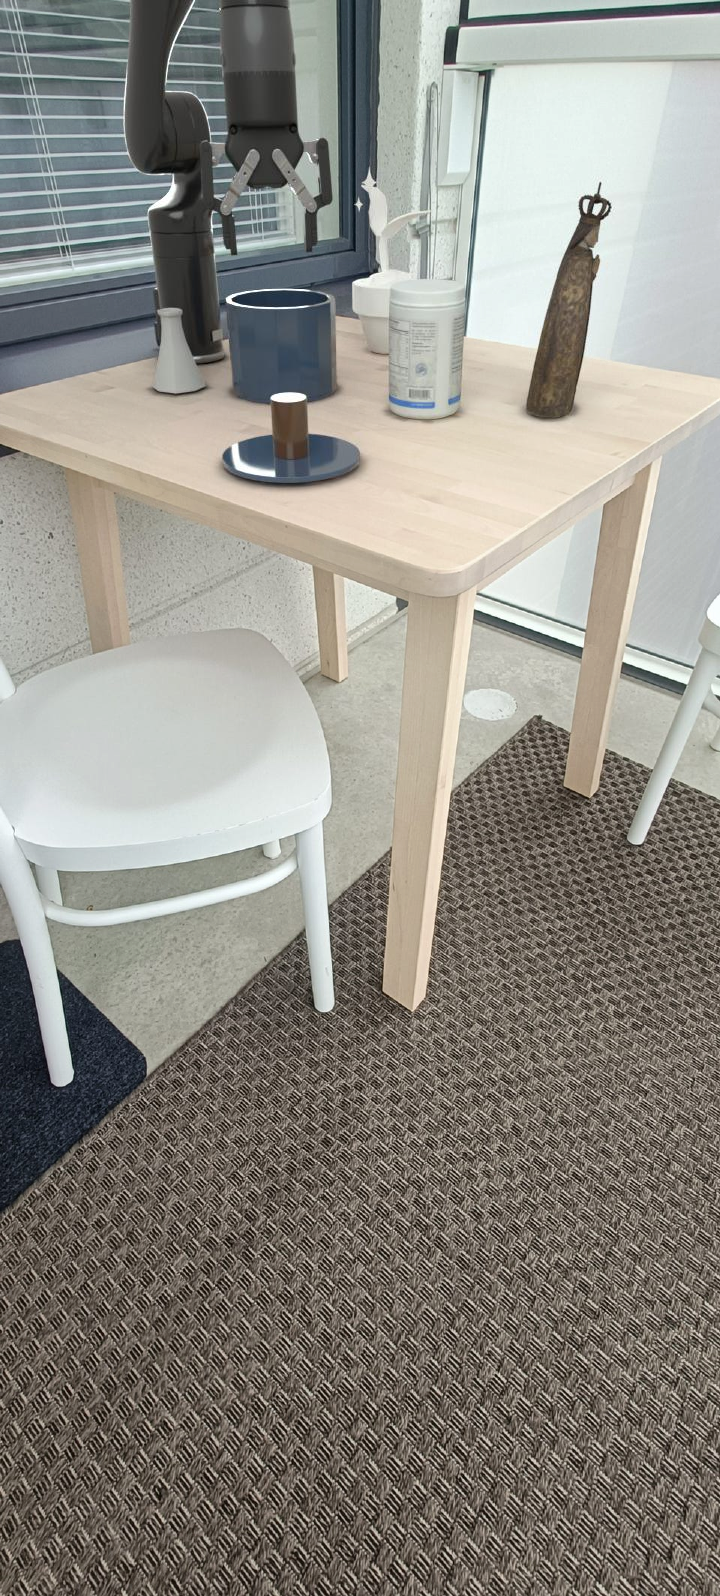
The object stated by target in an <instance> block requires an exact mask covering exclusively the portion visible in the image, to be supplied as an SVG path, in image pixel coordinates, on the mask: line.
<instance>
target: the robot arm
mask: <svg viewBox="0 0 720 1596" xmlns="http://www.w3.org/2000/svg"><path fill="white" fill-rule="evenodd" d="M195 1H196V0H130V2H129V32H128V33H129V34H128V35H129V36H128V49H127V61H126V62H127V63H126V73H125V75H126V76H125V85H124V86H125V88H124V100H123V132H124V141H125V146H126V147H125V148H126V151H127V155H128V157H129V159H130V162H131V164H132V165H133V167H134V168H135V169H136V170H137V171H138V172H139V173H141V174H143V175H148V176H150V175H151V176H163V175H172V184H171V187H170V189H169V191H168V192H167V194H166V195H165V196H163V198H161V199H160V200H159V201H157V202H155V203H154V204H152V205H151V206H150V207H149V208H148V210H147V223H148V229H149V237H150V244H151V253H152V259H153V267H154V275H155V283H156V287H155V288H154V289H153V290H152V297H153V303H154V304H153V305H154V311H155V320H156V321H154V322H153V327H154V336H155V341H156V345H157V347H159V348H160V345H161V330H162V326H161V318H160V315H158V312H157V310H160V309H163V308H179V309H181V310H182V315H181V323H182V328H183V332H184V335H185V339H186V342H187V344H188V347H189V349H190V351H191V354H192V356H193V358H194V361H195V363H196V364H206V363H213V362H216V361H220V360H222V359H223V358H224V357H225V348H224V344H223V343H224V342H223V338H224V336H223V334H224V333H223V327H222V320H221V309H220V307H221V306H220V297H219V287H218V286H219V285H218V274H217V264H216V253H215V242H214V241H215V240H214V230H213V212H216V213H218V214H219V216H220V219H221V229H222V231H221V232H222V240H223V241H222V242H223V245H224V247H225V250H230V256H238V243H237V234H236V223H235V216H234V214H233V209H234V207H235V205H236V203H237V202H238V199H239V197H241V194H242V193H243V191H244V190H245V187H246V186H247V187H249V188H250V189H253V190H261V189H264V188H267V187H268V188H272V189H282V188H283V187H285V186H286V185H288V186H289V188H290V189H291V191H292V192H293V194H294V195H295V196H296V198H297V199H298V200H299V202H300V203H301V205H302V206H303V208H304V209H303V210H304V211H303V212H302V228H303V248H304V252H305V253H313V247H316V246H317V244H318V241H319V240H318V238H319V237H318V212H319V210H320V209H321V208H324V207H326V206H329V205H331V204H332V202H333V187H332V173H331V161H330V149H329V147H330V146H329V141H328V140H327V138H325V137H318V138H316V139H312V140H302V138H301V136H300V132H299V119H298V100H297V97H298V96H297V80H296V79H297V77H296V64H297V58H296V53H295V40H294V32H293V31H294V30H293V26H292V19H291V18H292V17H291V10H290V7H291V4H290V0H218V8H219V50H220V63H221V64H220V66H221V71H222V84H223V93H224V107H225V117H226V118H225V119H226V129H227V135H226V139H225V142H212V137H211V129H210V128H211V127H210V124H209V119H208V114H207V112H206V109H205V107H204V105H203V103H202V101H201V100H200V99H199V97H198V96H197V95H196V94H194V93H192V92H190V91H179V90H178V91H176V90H173V91H172V90H166V89H167V79H168V78H167V77H168V68H169V64H170V58H171V54H172V51H173V48H174V46H175V42H176V40H177V38H178V35H179V33H180V31H181V29H182V27H183V25H184V23H185V22H186V19H187V18H188V15H189V13H190V12H191V10H192V8H193V6H194V3H195ZM304 153H305V154H307V155H308V159H309V161H310V163H312V164H313V165H316V177H317V187H318V193H317V194H314V195H312V194H311V193H310V191H309V190H308V188H307V187H306V185H305V184H304V182H303V180H302V179H301V178H300V176H299V174H298V172H297V171H296V169H297V167H298V164H299V163H300V162H301V159H302V158H303V155H304ZM224 155H225V156H226V158H227V160H228V161H229V162H230V164H231V165H232V167H233V168H234V170H235V174H234V176H233V178H232V180H231V182H230V183H229V186H228V188H227V189H226V192H225V193H224V196H223V197H222V199H221V198H218V197H216V196H215V192H214V191H215V187H214V171H213V170H214V169H213V168H214V167H218V165H219V164H220V161H221V157H222V156H224Z"/></svg>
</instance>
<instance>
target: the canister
mask: <svg viewBox="0 0 720 1596" xmlns="http://www.w3.org/2000/svg"><path fill="white" fill-rule="evenodd" d="M224 299H225V300H224V301H225V313H226V324H227V335H228V345H229V347H228V348H229V359H230V370H231V382H232V388H233V393H234V395H235V396H236V397H238V398H240V399H243V400H245V401H249V402H255V403H261V404H271V401H270V398H271V396H273V395H275V394H280V393H300V394H303V395H306V396H307V403H309V402H315V401H319V400H322V399H325V398H328V397H330V396H332V395H333V394H335V393H336V391H337V387H338V382H337V379H338V377H337V373H338V372H337V319H336V318H337V317H336V313H337V312H336V310H337V309H336V298H335V296H333V294H330V293H326V292H324V291H318V290H310V289H300V288H299V289H298V288H297V289H294V288H271V289H259V290H248V291H242V292H237V293H233V294H231V295H228V296H227V297H225V298H224Z"/></svg>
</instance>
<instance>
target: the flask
mask: <svg viewBox="0 0 720 1596" xmlns="http://www.w3.org/2000/svg"><path fill="white" fill-rule="evenodd" d="M157 312H158V315H160V318H161V326H162V330H161V345H160V347H159V351H158V357H157V362H156V367H155V372H154V375H153V381H152V385H151V386H152V388H154V389H155V390H156V391H158V392H161V393H168V394H169V393H170V394H182V393H190V392H196V391H198V390H200V389H202V388H205V387H206V386H207V385H206V383H205V380H204V378H203V376H202V373H201V372H200V370H199V367H198V365H197V363H195V361H194V358H193V356H192V354H191V351H190V349H189V347H188V344H187V342H186V339H185V335H184V332H183V328H182V323H181V315H182V310H181V309H179V308H163V309H160V310H157Z"/></svg>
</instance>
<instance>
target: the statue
mask: <svg viewBox="0 0 720 1596" xmlns="http://www.w3.org/2000/svg"><path fill="white" fill-rule="evenodd" d="M601 187H602V182H601V181H600V182H599V183H598V187H597V191H596V193H594V194H593V195H591V194H584V195H583V196H581V197H580V199H579V200H578V204H577V206H578V211H579V215H580V218H579V220H578V223H577V226H576V227H575V230H574V232H573V234H572V236H571V238H570V239H569V243H568V245H567V247H566V249H565V252H564V254H563V256H562V259H561V262H560V264H559V267H558V271H557V273H556V278H555V281H554V284H553V287H552V291H551V295H550V298H549V302H548V306H547V309H546V313H545V316H544V320H543V323H542V324H543V325H542V329H541V332H540V337H539V340H538V341H539V342H538V346H537V351H536V353H535V359H534V363H533V367H532V368H533V369H532V373H531V378H530V382H529V387H528V393H527V398H526V402H525V403H526V404H525V407H526V409H525V410H526V411H527V412H528V413H530V414H531V415H533V416H537V417H540V418H549V419H550V418H551V419H552V418H553V419H554V418H562V417H563V416H564V417H565V416H567V415H569V413H572V410H573V406H574V404H575V396H576V393H577V386H578V384H579V383H578V382H579V379H580V374H581V370H582V366H583V360H584V355H585V350H586V343H587V336H588V330H589V322H590V317H591V306H592V296H593V285H594V281H595V279H596V278H597V273H598V272H599V268H600V265H601V259H600V254H598V253H597V254H596V255H595V257H594V253H593V249H594V248H595V246H596V244H597V243H599V233H600V227H601V221H602V220H605V218H606V217H609V215H610V213H611V209H612V203H611V202H610V200H609V199H608V200H607V198H605V197H602V195H601V193H600V192H601ZM585 200H588V203H587V209H586V212H585V211H584V201H585ZM599 204H601V208H600V210H599V212H598V214H594V213H593V211H594V207H595V205H599Z"/></svg>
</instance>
